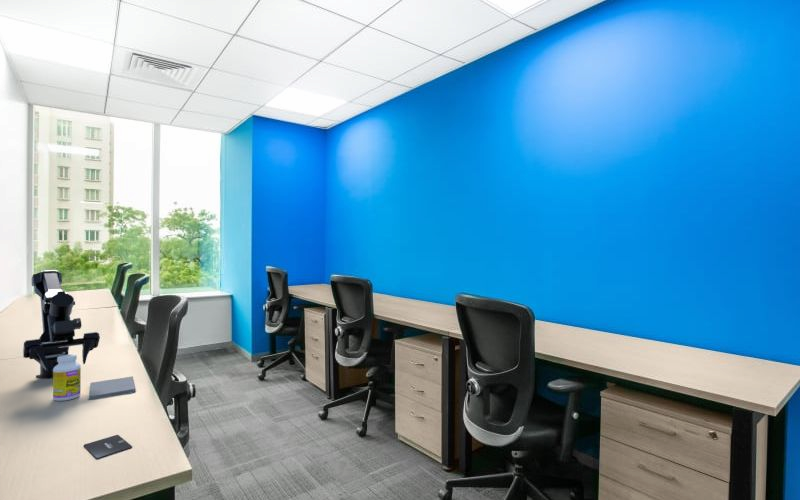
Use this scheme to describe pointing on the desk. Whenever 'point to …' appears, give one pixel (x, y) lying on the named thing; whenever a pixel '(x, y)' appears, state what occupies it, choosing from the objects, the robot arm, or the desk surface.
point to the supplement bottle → (66, 378)
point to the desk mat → (111, 387)
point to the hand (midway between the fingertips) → (66, 366)
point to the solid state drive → (107, 446)
